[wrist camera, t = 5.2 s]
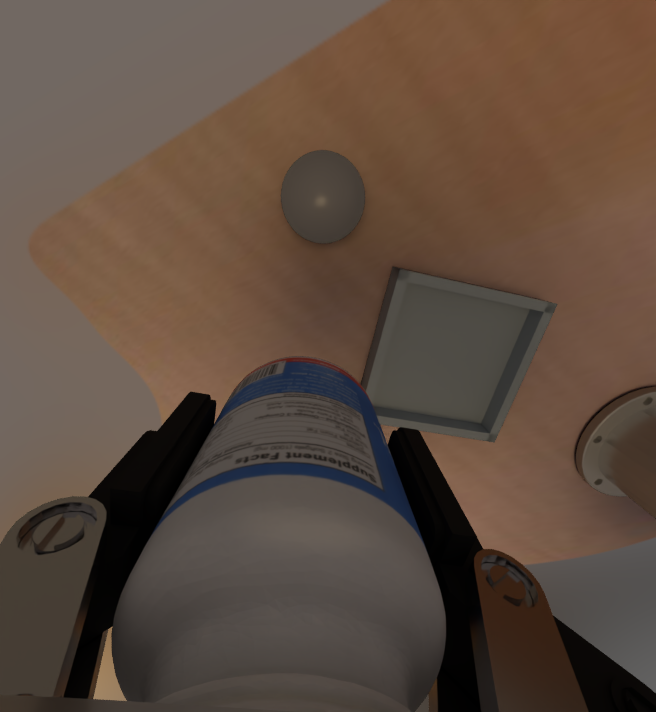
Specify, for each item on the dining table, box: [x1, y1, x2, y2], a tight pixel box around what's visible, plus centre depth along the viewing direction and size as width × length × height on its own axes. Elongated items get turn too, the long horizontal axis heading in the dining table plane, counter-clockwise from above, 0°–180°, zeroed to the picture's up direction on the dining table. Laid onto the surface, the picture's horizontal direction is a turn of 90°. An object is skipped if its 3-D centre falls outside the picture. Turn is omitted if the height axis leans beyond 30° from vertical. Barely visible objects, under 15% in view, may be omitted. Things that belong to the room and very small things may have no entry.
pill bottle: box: [112, 356, 446, 712], centre depth 7 cm, size 6×5×10 cm
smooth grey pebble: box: [281, 150, 365, 243], centre depth 21 cm, size 5×5×5 cm
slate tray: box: [361, 267, 557, 442], centre depth 27 cm, size 13×13×2 cm
